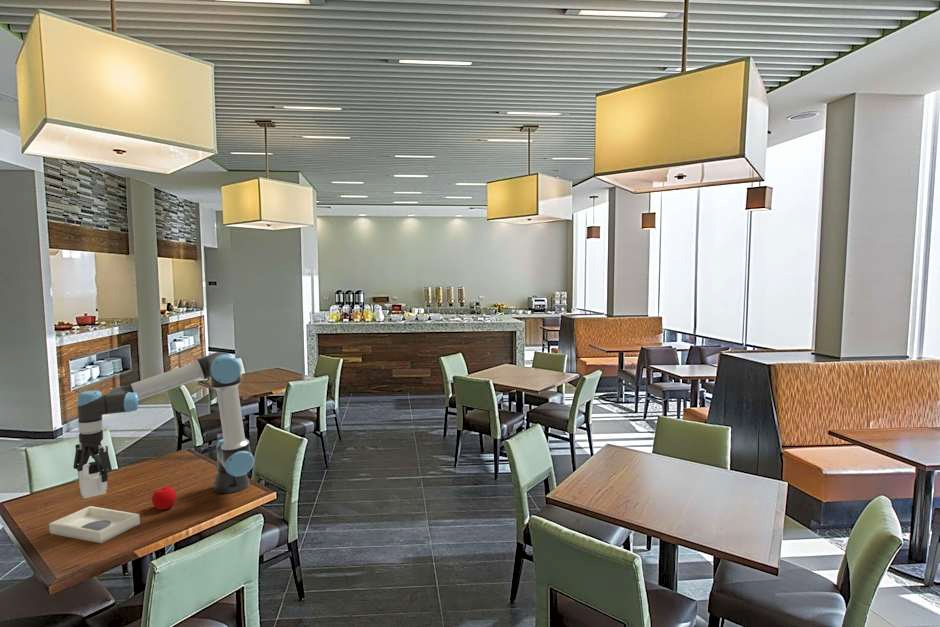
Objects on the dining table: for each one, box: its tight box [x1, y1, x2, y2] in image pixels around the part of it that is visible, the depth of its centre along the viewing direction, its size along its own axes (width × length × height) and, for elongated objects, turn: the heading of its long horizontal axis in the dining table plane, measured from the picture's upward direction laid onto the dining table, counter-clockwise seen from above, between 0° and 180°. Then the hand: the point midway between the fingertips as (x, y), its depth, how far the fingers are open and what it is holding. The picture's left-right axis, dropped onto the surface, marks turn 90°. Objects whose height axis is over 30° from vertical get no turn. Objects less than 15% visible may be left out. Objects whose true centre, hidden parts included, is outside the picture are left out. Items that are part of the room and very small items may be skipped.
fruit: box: [151, 485, 177, 511], centre depth 223 cm, size 9×9×10 cm
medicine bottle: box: [79, 461, 107, 499], centre depth 203 cm, size 7×7×12 cm
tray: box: [48, 505, 141, 544], centre depth 204 cm, size 26×16×4 cm, turn 73°
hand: (93, 488), depth 203 cm, fingers closed on medicine bottle, 9 cm apart
